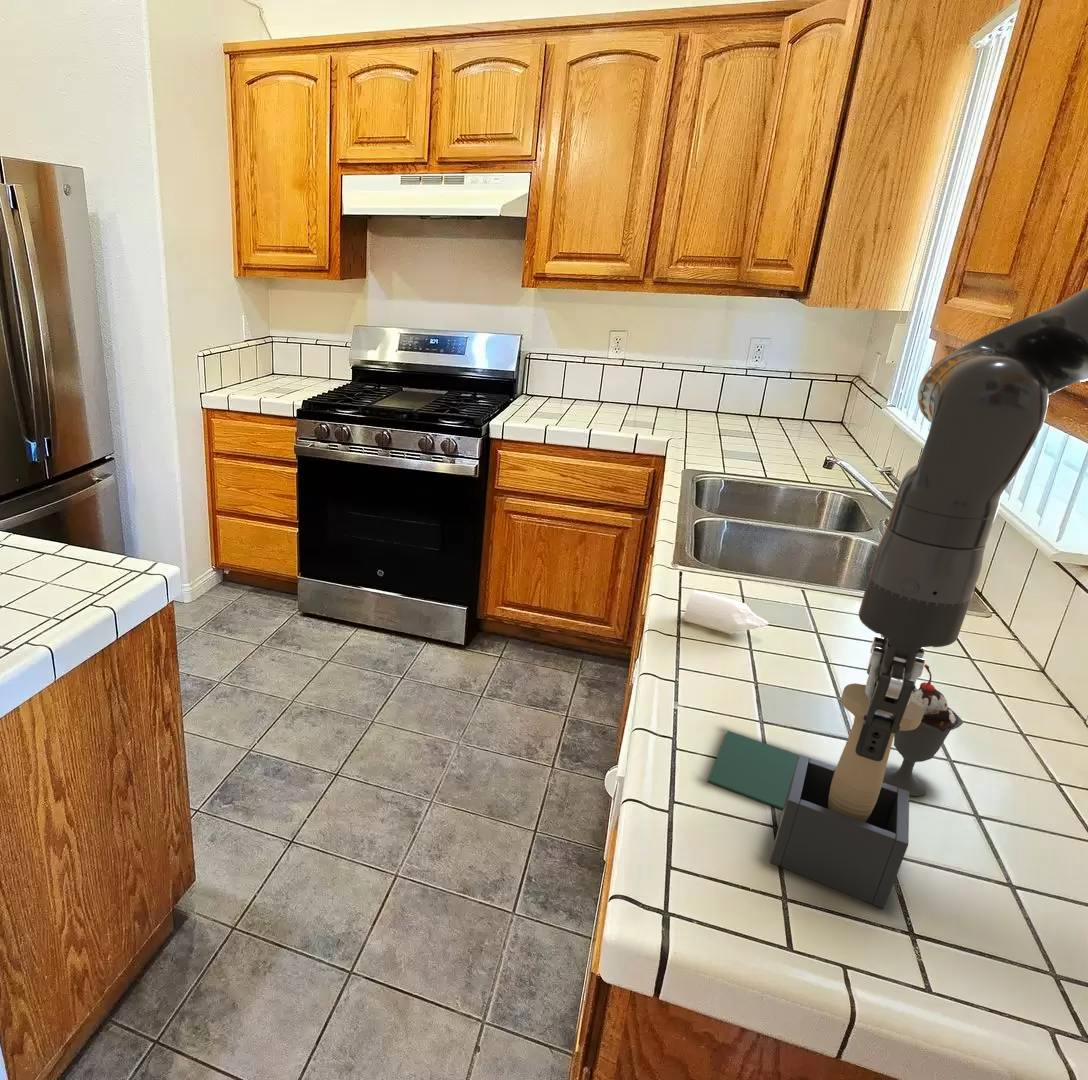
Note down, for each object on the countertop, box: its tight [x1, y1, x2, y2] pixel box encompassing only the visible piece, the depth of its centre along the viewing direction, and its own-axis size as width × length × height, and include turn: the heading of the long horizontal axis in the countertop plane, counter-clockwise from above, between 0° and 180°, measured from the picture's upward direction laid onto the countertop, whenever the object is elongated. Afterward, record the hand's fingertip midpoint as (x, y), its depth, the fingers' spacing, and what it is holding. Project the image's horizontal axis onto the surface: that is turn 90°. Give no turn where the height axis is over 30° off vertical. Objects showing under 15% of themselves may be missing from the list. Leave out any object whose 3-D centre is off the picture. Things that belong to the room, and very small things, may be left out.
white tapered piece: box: [683, 590, 769, 635], centre depth 123 cm, size 6×12×6 cm, turn 51°
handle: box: [828, 682, 924, 822], centre depth 74 cm, size 5×6×15 cm
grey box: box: [769, 753, 910, 910], centre depth 77 cm, size 10×9×8 cm
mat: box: [707, 730, 799, 811], centre depth 90 cm, size 14×12×1 cm
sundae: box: [883, 663, 964, 797], centre depth 87 cm, size 7×7×15 cm
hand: (869, 740), depth 73 cm, fingers closed on handle, 5 cm apart
